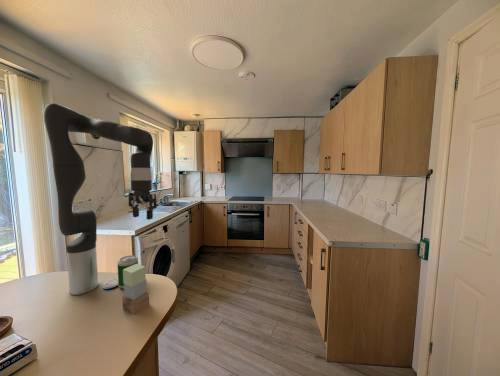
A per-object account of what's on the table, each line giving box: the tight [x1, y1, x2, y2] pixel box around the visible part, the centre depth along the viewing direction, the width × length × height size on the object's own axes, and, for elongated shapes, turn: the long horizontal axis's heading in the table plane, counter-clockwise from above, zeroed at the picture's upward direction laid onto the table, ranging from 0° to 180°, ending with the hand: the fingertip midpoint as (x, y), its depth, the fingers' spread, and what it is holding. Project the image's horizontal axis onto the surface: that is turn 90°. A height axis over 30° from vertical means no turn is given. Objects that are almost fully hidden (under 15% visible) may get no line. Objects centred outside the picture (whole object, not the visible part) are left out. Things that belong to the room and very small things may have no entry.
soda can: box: [117, 255, 139, 290], centre depth 85 cm, size 8×8×12 cm
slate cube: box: [123, 279, 148, 300], centre depth 71 cm, size 5×5×5 cm
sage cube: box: [123, 263, 147, 287], centre depth 70 cm, size 5×5×5 cm
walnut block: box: [122, 291, 150, 316], centre depth 71 cm, size 6×6×5 cm
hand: (142, 218), depth 81 cm, fingers open, 8 cm apart
